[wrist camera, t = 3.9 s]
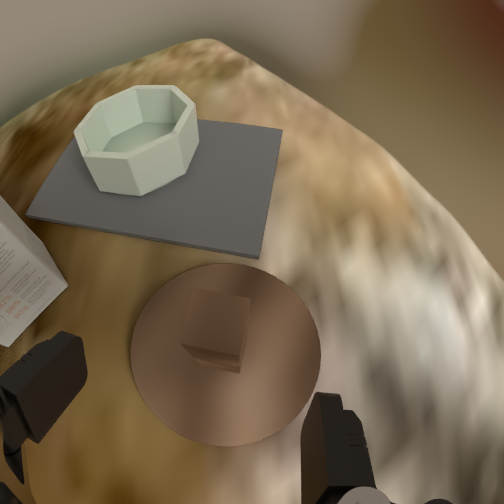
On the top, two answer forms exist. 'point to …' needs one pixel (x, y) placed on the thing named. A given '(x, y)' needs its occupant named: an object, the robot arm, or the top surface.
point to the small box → (23, 276)
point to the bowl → (139, 139)
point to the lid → (225, 354)
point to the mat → (178, 194)
